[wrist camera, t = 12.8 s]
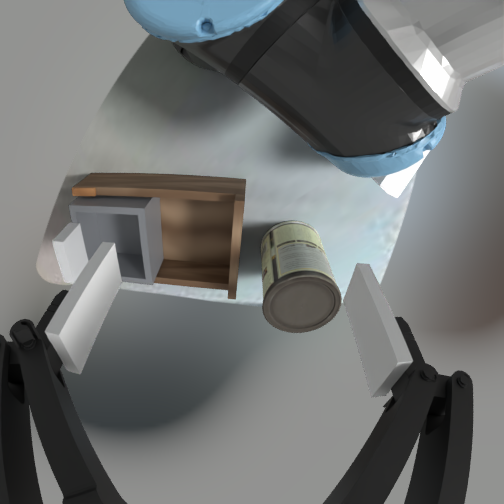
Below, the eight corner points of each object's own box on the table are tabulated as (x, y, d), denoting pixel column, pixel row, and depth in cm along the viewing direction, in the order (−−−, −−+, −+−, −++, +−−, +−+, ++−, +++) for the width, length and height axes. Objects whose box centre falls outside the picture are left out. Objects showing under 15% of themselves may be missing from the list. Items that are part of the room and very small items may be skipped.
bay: (91, 173, 41) (66, 192, 34) (246, 179, 42) (244, 201, 35) (104, 255, 50) (86, 282, 43) (237, 267, 51) (235, 299, 44)
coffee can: (324, 265, 51) (342, 325, 39) (267, 277, 52) (271, 338, 40) (317, 213, 45) (339, 268, 33) (253, 227, 47) (254, 285, 35)
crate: (87, 186, 41) (47, 222, 31) (159, 188, 41) (131, 227, 31) (99, 252, 47) (69, 296, 37) (163, 258, 48) (143, 308, 38)
